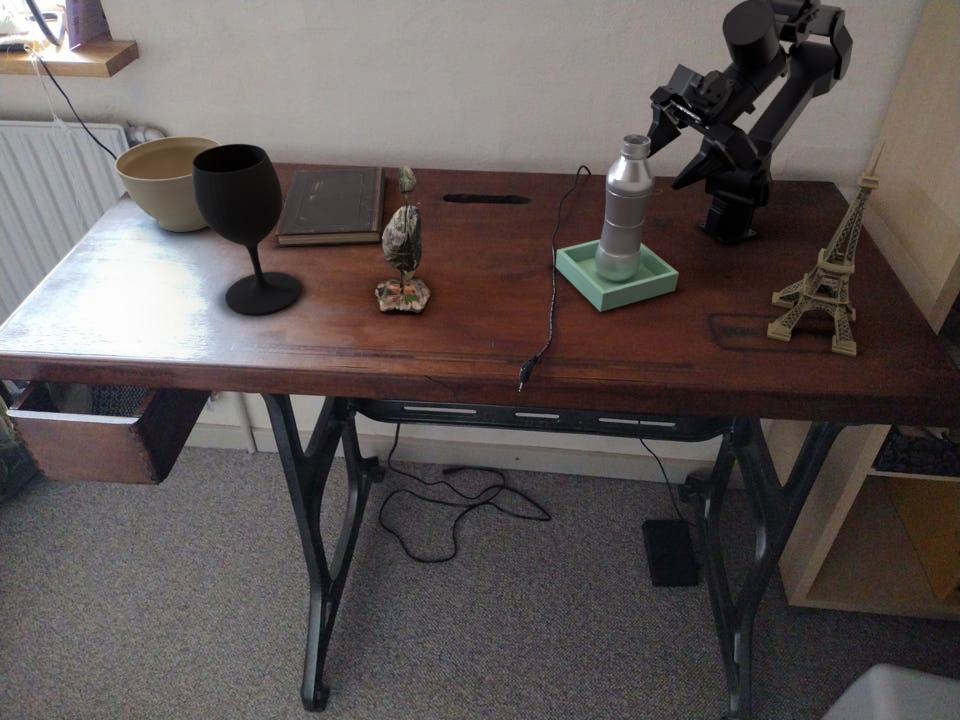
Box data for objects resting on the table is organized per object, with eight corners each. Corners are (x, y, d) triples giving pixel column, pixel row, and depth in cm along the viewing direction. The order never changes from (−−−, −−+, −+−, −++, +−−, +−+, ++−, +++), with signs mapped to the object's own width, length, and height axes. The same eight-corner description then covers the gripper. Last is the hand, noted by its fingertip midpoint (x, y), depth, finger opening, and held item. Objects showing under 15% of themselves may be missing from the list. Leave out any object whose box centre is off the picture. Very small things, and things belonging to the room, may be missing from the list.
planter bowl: (118, 241, 105) (92, 175, 98) (167, 194, 117) (147, 133, 110) (216, 247, 104) (197, 181, 97) (255, 199, 116) (240, 138, 109)
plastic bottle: (587, 280, 96) (604, 145, 83) (600, 258, 100) (618, 126, 88) (631, 291, 94) (656, 153, 81) (642, 267, 98) (667, 134, 86)
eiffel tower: (766, 336, 87) (832, 150, 71) (773, 293, 94) (833, 116, 78) (855, 356, 84) (945, 167, 67) (854, 310, 91) (935, 129, 75)
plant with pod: (441, 274, 98) (435, 141, 85) (422, 320, 89) (412, 180, 76) (387, 269, 99) (373, 137, 86) (363, 313, 90) (344, 174, 78)
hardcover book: (277, 247, 104) (274, 234, 102) (297, 181, 121) (295, 169, 120) (381, 243, 105) (380, 230, 103) (386, 178, 122) (384, 166, 121)
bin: (625, 249, 103) (628, 232, 101) (675, 290, 95) (679, 272, 93) (555, 267, 99) (556, 249, 98) (600, 312, 91) (603, 293, 89)
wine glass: (234, 324, 89) (192, 183, 76) (218, 285, 96) (178, 150, 83) (310, 303, 92) (283, 165, 79) (290, 267, 99) (262, 135, 87)
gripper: (674, 22, 90) (591, 114, 94) (762, 62, 76) (661, 168, 81) (711, 76, 97) (632, 160, 101) (798, 122, 83) (703, 216, 88)
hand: (654, 174), depth 93 cm, fingers open, 9 cm apart
